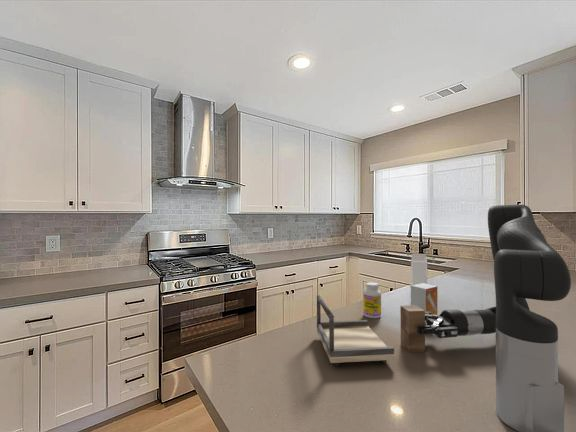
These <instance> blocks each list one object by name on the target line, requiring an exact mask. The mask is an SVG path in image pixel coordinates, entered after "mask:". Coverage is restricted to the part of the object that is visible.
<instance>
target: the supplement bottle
mask: <svg viewBox="0 0 576 432" xmlns="http://www.w3.org/2000/svg"><path fill="white" fill-rule="evenodd" d="M365 286H366V288H365V289H364V291H363V316H364V317H366V318H369V319H379V318H381V316H382V292H381V290H380V289H379V283H377V282H373V281H372V282H371V281H370V282H369V281H368V282H366V283H365Z"/></svg>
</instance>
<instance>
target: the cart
mask: <svg viewBox="0 0 576 432" xmlns="http://www.w3.org/2000/svg"><path fill="white" fill-rule="evenodd" d="M321 308H322V309H323V311H324V312H325V314H326V316H327V317H328V320H329V321H321V319H322V318H321V317H322V315H321V314H322V313H321ZM316 332H317V335H318V337H319V339H320V342H321V344H322V346H323V348H324V351H325V353H326V355H327V357H328V360H329V362H330V364H333V366H334V367H337V366H340V363H341V364H342V363H355V362H356V363H357V362H358V363H360V362H373V361H374V362H378V361H379V363H380V364H386V363H387V361H395V347H394V346H387V344H386V343H384V341H382V339H381V338H380V337H379V336H378V335H377V333H376V332H374V331H373V329H372V328H370V326H369V321H368V319H363V320H357V319H356V320H336V321H335V316H334V314H333V313H332V311H331V309H330V308H329V306H328V305H327V303H326V302H325V301H324V299H323V298H322V296H321V295H319V294H317V295H316Z"/></svg>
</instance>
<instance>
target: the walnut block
mask: <svg viewBox="0 0 576 432" xmlns="http://www.w3.org/2000/svg"><path fill="white" fill-rule="evenodd" d="M399 312H400V345H401V346H402V347H403V348H404V349H405V350H406V351H407V352H408V353H417V352H418V353H419V352H421V353H422V352H426V334H418V333H417V327H418V326H425V310H423V309H421V308H420V307H418V306H416V305H411V304H410V305H400V311H399Z"/></svg>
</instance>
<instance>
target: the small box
mask: <svg viewBox="0 0 576 432" xmlns="http://www.w3.org/2000/svg"><path fill="white" fill-rule="evenodd" d="M438 287H439V286H437V285H434V284H433V285H432V284H429V283H427V284H425V283H421V284H416V285H413V286H411V285H410V305H416V306H418V307H420V308H421V309H423V310H425V312H432V315H433V314H434V315H438ZM425 323H427V320H425Z"/></svg>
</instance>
